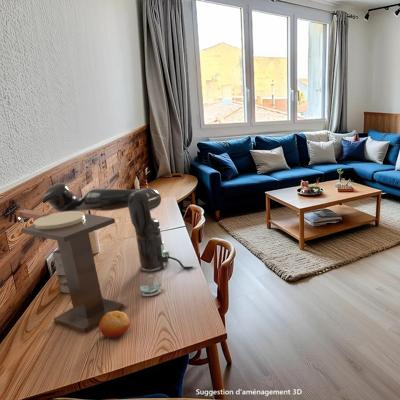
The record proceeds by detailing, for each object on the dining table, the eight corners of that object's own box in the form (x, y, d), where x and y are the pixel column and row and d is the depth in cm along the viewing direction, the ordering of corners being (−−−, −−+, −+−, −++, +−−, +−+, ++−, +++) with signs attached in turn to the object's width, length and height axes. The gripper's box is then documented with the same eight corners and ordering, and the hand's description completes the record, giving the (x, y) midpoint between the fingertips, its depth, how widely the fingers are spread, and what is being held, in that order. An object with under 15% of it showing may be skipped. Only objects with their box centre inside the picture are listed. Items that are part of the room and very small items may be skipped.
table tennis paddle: (-1, 221, 106) (-2, 216, 106) (43, 208, 118) (42, 204, 117) (52, 231, 97) (51, 226, 96) (95, 217, 108) (94, 212, 108)
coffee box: (75, 294, 125) (66, 253, 120) (60, 292, 126) (50, 252, 121) (94, 281, 133) (86, 243, 129) (80, 279, 135) (72, 241, 130)
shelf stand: (47, 322, 109) (22, 228, 100) (93, 296, 123) (75, 211, 114) (86, 336, 102) (63, 237, 93) (130, 307, 116) (114, 218, 107)
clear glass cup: (162, 295, 124) (162, 286, 129) (159, 280, 122) (160, 271, 127) (140, 299, 121) (141, 290, 127) (137, 283, 119) (138, 275, 125)
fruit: (101, 322, 106) (111, 302, 105) (126, 332, 108) (136, 312, 106) (88, 340, 99) (99, 318, 97) (115, 350, 100) (126, 329, 99)
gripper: (-35, 229, 115) (-18, 211, 107) (12, 215, 127) (31, 198, 120) (-23, 248, 115) (-5, 232, 108) (23, 233, 128) (42, 217, 120)
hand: (14, 214), depth 114 cm, fingers open, 8 cm apart
